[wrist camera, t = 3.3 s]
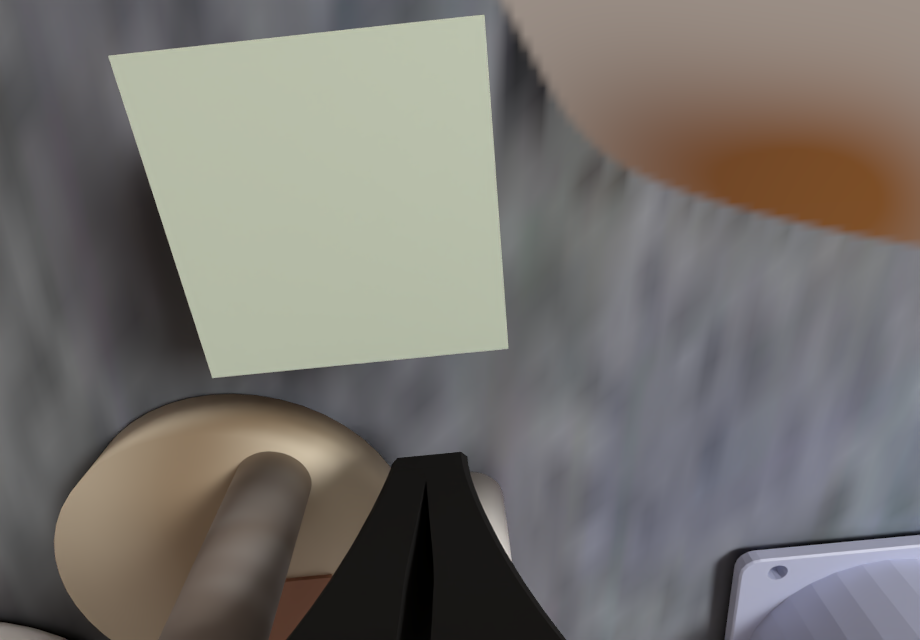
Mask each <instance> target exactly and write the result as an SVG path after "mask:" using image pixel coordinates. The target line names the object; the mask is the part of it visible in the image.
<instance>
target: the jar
mask: <svg viewBox="0 0 920 640" xmlns="http://www.w3.org/2000/svg"><path fill="white" fill-rule="evenodd" d="M0 640H67V639H65V638H63V637H60V636H57V635H54V634H51V633H48V632H45V631H42V630H39V629H35V628H31V627H26V626H21V625H16V624H11V623H5V622H0Z"/></svg>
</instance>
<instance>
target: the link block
mask: <svg viewBox="0 0 920 640" xmlns="http://www.w3.org/2000/svg"><path fill="white" fill-rule="evenodd" d="M108 57H109V60H110V63H111V66H112V69H113V72H114V75H115V78H116V81H117V84H118V88H119V91H120V94H121V97H122V100H123V103H124V106H125V109H126V112H127V115H128V118H129V122H130V125H131V128H132V131H133V134H134V137H135V140H136V143H137V146H138V149H139V152H140V156H141V159H142V162H143V165H144V168H145V171H146V174H147V177H148V180H149V183H150V187H151V190H152V193H153V196H154V199H155V202H156V205H157V208H158V211H159V214H160V217H161V221H162V224H163V227H164V230H165V233H166V236H167V239H168V242H169V245H170V248H171V251H172V255H173V258H174V261H175V264H176V267H177V270H178V273H179V276H180V279H181V282H182V286H183V289H184V292H185V295H186V298H187V301H188V304H189V307H190V310H191V313H192V316H193V320H194V323H195V326H196V329H197V332H198V335H199V338H200V341H201V344H202V347H203V350H204V354H205V357H206V360H207V363H208V366H209V369H210V372H211V375H212V378H218V377H228V376H238V375H248V374H258V373H268V372H278V371H288V370H298V369H308V368H318V367H328V366H339V365H349V364H359V363H369V362H379V361H389V360H399V359H409V358H419V357H429V356H439V355H449V354H459V353H469V352H480V351H490V350H500V349H508V337H507V323H506V309H505V295H504V281H503V268H502V254H501V240H500V226H499V212H498V198H497V184H496V170H495V157H494V143H493V129H492V115H491V101H490V87H489V73H488V59H487V46H486V32H485V18H484V15H477V16H468V17H459V18H449V19H440V20H431V21H422V22H413V23H404V24H395V25H386V26H376V27H367V28H358V29H349V30H340V31H331V32H322V33H312V34H303V35H294V36H285V37H276V38H267V39H258V40H249V41H239V42H230V43H221V44H212V45H203V46H194V47H185V48H175V49H166V50H157V51H148V52H139V53H130V54H121V55H112V56H108Z"/></svg>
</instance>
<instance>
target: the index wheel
mask: <svg viewBox="0 0 920 640" xmlns="http://www.w3.org/2000/svg"><path fill="white" fill-rule="evenodd" d="M390 469H391V468H390V466H389V465H388V464H387V463H386V462H385V460H384V459H383V458H382V457H381V456H380V455H379V453H378V452H377V451H376V450H375V449H374V448H373V447H371V446H370V445H369V444H368V443H367V442H366V441H365V440H364V439H362V438H361V437H360V436H359V435H357V434H356V433H354V432H353V431H351V430H350V429H348V428H347V427H346V426H344V425H342V424H341V423H339V422H337V421H335V420H333V419H331V418H329V417H328V416H326V415H324V414H321V413H319V412H316V411H314V410H311V409H309V408H307V407H304V406H301V405H298V404H294V403H291V402H287V401H284V400H280V399H274V398H268V397H263V396H257V395H242V394H221V395H207V396H201V397H194V398H188V399H184V400H181V401H177V402H174V403H170V404H167V405H165V406H162V407H160V408H158V409H155V410H153V411H151V412H148V413H147V414H145V415H143V416H142V417H140V418H139V419H137V420H135V421H134V422H132V423H131V424H129V425H128V426H127V427H126V428H125V429H123V430H122V431H121V432H120V433H119V434H118V435H117V436H116V437H115V438H114V439H113V440H112V441H111V443H110V444H109V445H108V446H107V447H106V449H105V450H104V451H103V452H102V454H101V455H100V456H99V457H98V459H97V460H96V461H95V462H94V464H93V465H92V466H91V467H90V469H89V470H88V471H87V472H86V474H85V475H84V476H83V477H82V479H81V480H80V481H79V482H78V484H77V485H76V486H75V487H74V489H73V490H72V491H71V493H70V494H69V496H68V498H67V499H66V501H65V503H64V505H63V507H62V508H61V511H60V514H59V517H58V520H57V523H56V529H55V538H54V548H55V559H56V563H57V567H58V571H59V574H60V577H61V579H62V581H63V584H64V586H65V588H66V590H67V592H68V594H69V595H70V597H71V598H72V600H73V601H74V603H75V604H76V606H77V607H78V608H79V610H80V611H81V612H82V613H83V614H84V616H85V617H86V618H87V619H88V620H89V621H90V622H91V623H92V624H93V625H94V626H95V627H96V628H97V629H98V630H100V631H101V632H102V633H103V634H104V635H105V636H107V637H108V638H109V639H111V640H286V639H287V638H288V636H289V635H290V634H291V633H292V631H293V630H294V629H295V628H296V626H297V625H298V624H299V622H300V621H301V620H302V618H303V617H304V616H305V614H306V613H307V612H308V610H309V609H310V608H311V606H312V605H313V604H314V602H315V601H316V599H317V598H318V597H319V595H320V594H321V592H322V591H323V589H324V588H325V587H326V585H327V584H328V582H329V581H330V579H331V578H332V576H333V574H334V573H335V571H336V570H337V568H338V566H339V565H340V563H341V562H342V560H343V559H344V557H345V555H346V554H347V552H348V551H349V549H350V547H351V546H352V544H353V542H354V541H355V539H356V537H357V535H358V533H359V532H360V530H361V528H362V526H363V524H364V523H365V521H366V519H367V517H368V515H369V513H370V512H371V510H372V508H373V506H374V504H375V502H376V500H377V498H378V496H379V494H380V492H381V490H382V487H383V485H384V483H385V481H386V478H387V476H388V474H389V471H390Z"/></svg>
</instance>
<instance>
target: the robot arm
mask: <svg viewBox="0 0 920 640" xmlns="http://www.w3.org/2000/svg"><path fill="white" fill-rule="evenodd" d="M286 640H566V639H565V638H564V636H563V635H562V634H561V633H560V631H559V630H558V629H557V627H556V626H555V625H554V623H553V622H552V621H551V619H550V618H549V617H548V615H547V614H546V613H545V611H544V610H543V609H542V607H541V606H540V604H539V603H538V602H537V600H536V599H535V597H534V596H533V594H532V593H531V592H530V590H529V589H528V587H527V586H526V584H525V583H524V581H523V580H522V578H521V576H520V575H519V573H518V572H517V570H516V568H515V567H514V565H513V563H512V562H511V560H510V558H509V557H508V555H507V553H506V551H505V550H504V548H503V546H502V544H501V543H500V541H499V539H498V537H497V535H496V533H495V531H494V529H493V527H492V525H491V523H490V521H489V519H488V517H487V515H486V513H485V511H484V509H483V507H482V504H481V502H480V500H479V497H478V495H477V492H476V489H475V487H474V484H473V481H472V478H471V475H470V471H469V466H468V459H467V456H466V455H464V454H463V453H462V452H455V453H445V454H435V455H425V456H414V457H404V458H397V459H396V460H395V461H394V463H393V464H392V466H391V469H390V471H389V474H388V476H387V478H386V481H385V483H384V485H383V487H382V490H381V492H380V494H379V496H378V498H377V500H376V502H375V504H374V506H373V508H372V510H371V512H370V513H369V515H368V517H367V519H366V521H365V523H364V524H363V526H362V528H361V530H360V532H359V533H358V535H357V537H356V539H355V541H354V542H353V544H352V546H351V547H350V549H349V551H348V552H347V554H346V555H345V557H344V559H343V560H342V562H341V563H340V565H339V566H338V568H337V570H336V571H335V573H334V574H333V576H332V578H331V579H330V581H329V582H328V584H327V585H326V587H325V588H324V589H323V591H322V592H321V594H320V595H319V597H318V598H317V599H316V601H315V602H314V604H313V605H312V606H311V608H310V609H309V610H308V612H307V613H306V614H305V616H304V617H303V618H302V620H301V621H300V622H299V624H298V625H297V626H296V628H295V629H294V630H293V631H292V633H291V634H290V635H289V636H288V638H287V639H286ZM725 640H920V535H913V536H902V537H892V538H881V539H870V540H860V541H849V542H838V543H828V544H817V545H806V546H796V547H785V548H775V549H764V550H754V551H749V552H746V553H745V554H743V555H741V556H740V557H739V558H738V559H737V561H736V563H735V566H734V573H733V581H732V588H731V595H730V603H729V610H728V617H727V625H726V632H725Z"/></svg>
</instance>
